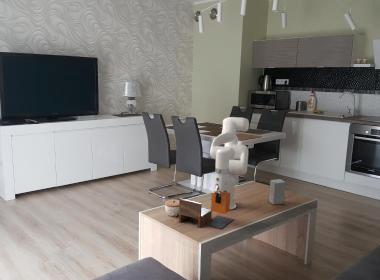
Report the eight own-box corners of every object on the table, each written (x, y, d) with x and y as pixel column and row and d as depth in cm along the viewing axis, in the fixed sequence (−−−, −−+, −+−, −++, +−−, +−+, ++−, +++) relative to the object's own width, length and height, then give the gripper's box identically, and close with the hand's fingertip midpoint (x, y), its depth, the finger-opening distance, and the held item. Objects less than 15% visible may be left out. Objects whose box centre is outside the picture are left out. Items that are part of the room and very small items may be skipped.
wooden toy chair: (191, 214, 222) (191, 192, 220) (211, 219, 215) (212, 197, 212) (178, 221, 210) (179, 198, 208) (199, 227, 203) (200, 203, 201)
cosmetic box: (278, 200, 251) (280, 178, 248) (284, 204, 244) (286, 181, 241) (268, 201, 248) (269, 179, 245) (273, 205, 241) (275, 182, 238)
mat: (218, 216, 220) (218, 215, 220) (233, 219, 215) (233, 219, 215) (205, 225, 207) (205, 224, 207) (221, 229, 202) (221, 228, 202)
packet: (215, 207, 214) (216, 189, 212) (229, 211, 210) (230, 192, 208) (210, 210, 209) (211, 192, 207) (225, 214, 205) (225, 195, 203)
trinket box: (178, 210, 228) (179, 196, 226) (184, 216, 218) (185, 201, 217) (162, 212, 224) (162, 197, 223) (167, 218, 214) (168, 203, 213)
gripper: (221, 175, 196) (219, 206, 199) (234, 169, 211) (232, 198, 214) (208, 173, 200) (207, 204, 203) (222, 167, 215) (221, 196, 218)
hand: (220, 201), depth 208 cm, fingers closed on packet, 6 cm apart
